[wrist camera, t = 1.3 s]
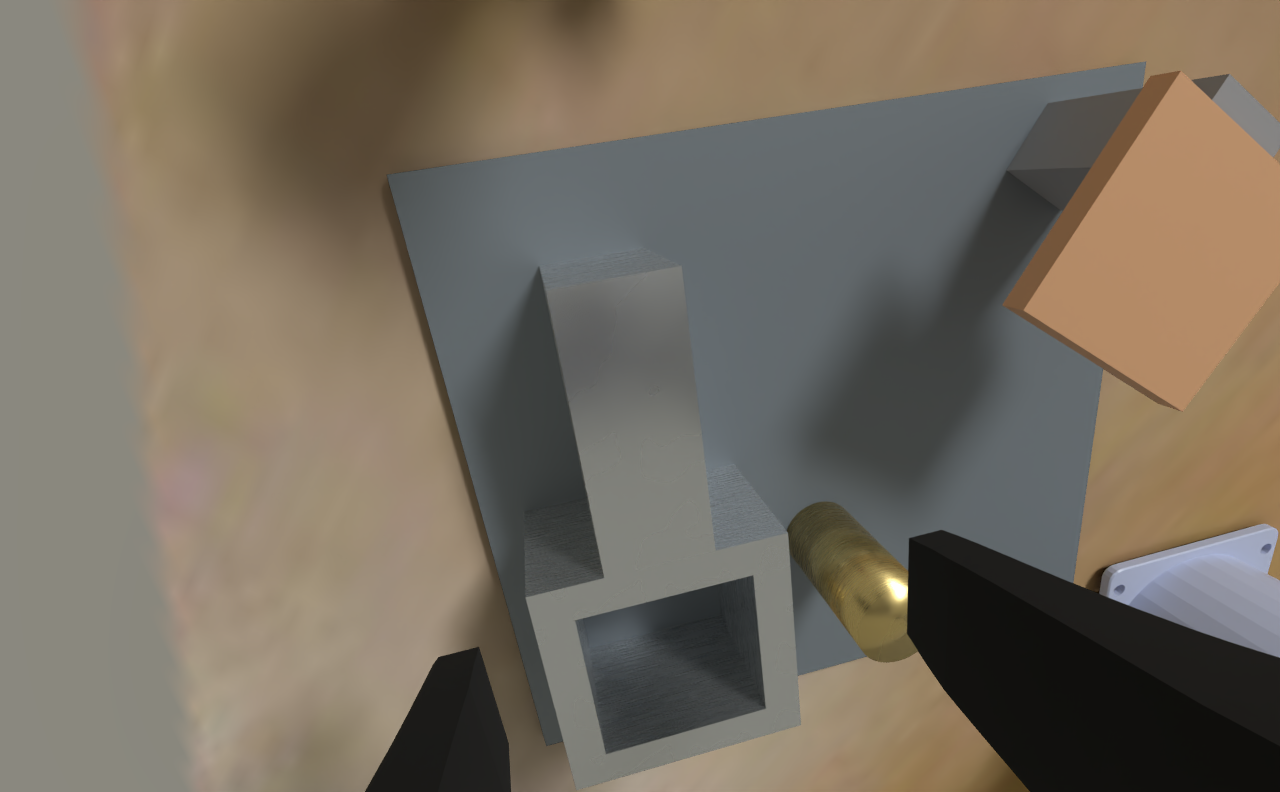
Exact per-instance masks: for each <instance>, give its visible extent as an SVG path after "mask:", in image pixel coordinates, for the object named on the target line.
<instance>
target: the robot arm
mask: <svg viewBox="0 0 1280 792" xmlns="http://www.w3.org/2000/svg"><path fill="white" fill-rule="evenodd" d="M1277 538H1278V531H1277V529H1276V528H1274V527H1271V526H1269V525H1267V524H1260V525H1256V526H1253V527H1249V528H1245V529H1242V530H1238V531H1234V532H1231V533H1227V534H1223V535H1220V536H1216V537H1212V538H1209V539H1205V540H1201V541H1198V542H1194V543H1191V544H1187V545H1183V546H1180V547H1176V548H1172V549H1169V550H1165V551H1161V552H1158V553H1154V554H1150V555H1147V556H1143V557H1139V558H1136V559H1132V560H1128V561H1125V562H1121V563H1118V564H1114V565H1111V566H1109V567H1108V568H1107V569H1106V570H1105V571H1104V573H1103V575H1102V579H1101V586H1100V592H1099V594H1098V593H1096V592H1093V591H1091V590H1088V589H1086V588H1083V587H1081V586H1078V585H1076V584H1074V583H1071V582H1069V581H1066V580H1064V579H1061V578H1059V577H1057V576H1054V575H1052V574H1049V573H1047V572H1045V571H1042V570H1040V569H1038V568H1035V567H1033V566H1030V565H1028V564H1026V563H1023V562H1021V561H1019V560H1016V559H1014V558H1011V557H1009V556H1007V555H1004V554H1002V553H1000V552H997V551H995V550H992V549H990V548H988V547H985V546H983V545H980V544H978V543H975V542H973V541H970V540H968V539H965V538H963V537H960V536H958V535H955V534H952V533H949V532H947V531H944V530H939V531H935V532H931V533H927V534H923V535H919V536H915V537H911V538H909V556H908V604H907V635H908V636H909V638H910V639H911V641H912V642H913V644H914V645H915V647H916V649H917V650H918V652H919V653H920V655H921V656H922V658H923V659H924V661H925V663H926V664H927V666H928V667H929V668H930V670H931V671H932V673H933V674H934V676H935V677H936V679H937V680H938V682H939V683H940V684H941V686H942V687H943V689H944V690H945V691H946V693H947V694H948V695H949V696H950V697H951V699H952V700H953V701H954V702H955V704H956V705H957V706H958V707H959V708H960V710H961V711H962V712H963V713H964V714H965V716H966V717H967V718H968V719H969V720H970V721H971V723H972V724H973V725H974V726H975V727H976V729H977V730H978V731H979V732H980V733H981V735H982V736H983V737H984V738H985V739H986V740H987V742H988V743H989V744H990V745H991V746H992V747H993V749H994V750H995V751H996V752H997V753H998V755H999V756H1000V757H1001V758H1002V759H1003V760H1004V762H1005V763H1006V764H1007V765H1008V766H1009V767H1010V769H1011V770H1012V771H1013V772H1014V773H1015V774H1016V776H1017V777H1018V778H1019V779H1020V780H1021V781H1022V783H1023V784H1024V785H1025V786H1026V787H1027V788H1028V790H1029V791H1030V792H1280V580H1278V579H1276V578H1274V577H1272V576H1270V575H1268V574H1267V573H1268V570H1269V566H1270V563H1271V559H1272V556H1273V552H1274V549H1275V545H1276V541H1277ZM365 792H511V782H510V761H509V743H508V740H507V737H506V733H505V730H504V727H503V724H502V721H501V717H500V714H499V711H498V708H497V704H496V701H495V698H494V695H493V691H492V688H491V685H490V682H489V678H488V675H487V672H486V669H485V665H484V662H483V659H482V656H481V652H480V649H479V647H477V648H473V649H469V650H465V651H461V652H457V653H453V654H449V655H445V656H441V657H438V659H437V660H436V661H435V663H434V664H433V666H432V668H431V670H430V672H429V674H428V676H427V678H426V680H425V682H424V684H423V686H422V688H421V689H420V691H419V693H418V695H417V697H416V699H415V701H414V703H413V705H412V707H411V709H410V711H409V713H408V715H407V717H406V718H405V720H404V722H403V724H402V726H401V728H400V730H399V732H398V733H397V735H396V737H395V739H394V741H393V743H392V745H391V746H390V748H389V750H388V752H387V754H386V755H385V757H384V759H383V761H382V762H381V764H380V766H379V768H378V770H377V771H376V773H375V775H374V777H373V778H372V780H371V782H370V784H369V785H368V787H367V789H366V791H365Z"/></svg>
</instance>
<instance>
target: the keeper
mask: <svg viewBox="0 0 1280 792" xmlns="http://www.w3.org/2000/svg"><path fill="white" fill-rule="evenodd" d="M1279 148H1280V123H1279V122H1278V121H1277V120H1276V119H1275V118H1274V117H1273V116H1272V115H1271V114H1270V113H1269V112H1268V111H1267V110H1266V109H1265V108H1264V107H1263V106H1262V105H1261V104H1260V103H1259V102H1258V101H1257V100H1256V99H1255V98H1254V97H1253V96H1252V95H1251V94H1250V93H1249V92H1248V91H1247V90H1245V89H1244V88H1243V87H1242V86H1241V85H1240V84H1239V83H1238V82H1237V81H1236V80H1235V79H1234V78H1233V77H1232V76H1231V75H1230V74H1226V75H1220V76H1214V77H1208V78H1201V79H1195V80H1190V79H1189V78H1188V77H1187V76H1186V75H1185V74H1184V73H1183V72H1182V71H1177V72H1171V73H1166V74H1160V75H1154V76H1150V78H1149V79H1148V81H1147V82H1146V84H1145V85H1144V87H1143V88H1139V89H1133V90H1126V91H1120V92H1114V93H1108V94H1102V95H1095V96H1089V97H1083V98H1077V99H1070V100H1064V101H1058V102H1052V103H1048V104H1047V105H1046V107H1045V109H1044V110H1043V112H1042V113H1041V115H1040V117H1039V118H1038V120H1037V122H1036V123H1035V125H1034V126H1033V128H1032V130H1031V131H1030V133H1029V135H1028V136H1027V138H1026V139H1025V141H1024V143H1023V144H1022V146H1021V148H1020V149H1019V151H1018V152H1017V154H1016V156H1015V157H1014V159H1013V160H1012V162H1011V164H1010V165H1009V167H1008V169H1007V171H1008V172H1009V173H1011V174H1012V175H1013V176H1015V177H1016V178H1017V179H1019V180H1020V181H1021V182H1023V183H1024V184H1026V185H1027V186H1028V187H1030V188H1031V189H1032V190H1034V191H1035V192H1036V193H1038V194H1039V195H1040V196H1042V197H1043V198H1045V199H1046V200H1047V201H1049V202H1050V203H1051V204H1053V205H1054V206H1055V207H1057V208H1058V209H1059V210H1063V212H1062V213H1061V215H1060V217H1059V218H1058V220H1057V221H1056V223H1055V224H1054V226H1053V227H1052V229H1051V230H1050V232H1049V234H1048V235H1047V237H1046V238H1045V240H1044V241H1043V243H1042V244H1041V246H1040V247H1039V249H1038V251H1037V252H1036V254H1035V255H1034V257H1033V258H1032V260H1031V261H1030V263H1029V264H1028V266H1027V267H1026V269H1025V271H1024V272H1023V274H1022V275H1021V277H1020V278H1019V280H1018V281H1017V283H1016V284H1015V286H1014V288H1013V289H1012V291H1011V292H1010V294H1009V295H1008V297H1007V298H1006V300H1005V301H1004V303H1003V306H1004V307H1006V308H1007V309H1009V310H1011V311H1012V312H1014V313H1015V314H1017V315H1018V316H1020V317H1022V318H1023V319H1025V320H1026V321H1028V322H1030V323H1031V324H1033V325H1034V326H1036V327H1038V328H1039V329H1041V330H1042V331H1044V332H1045V333H1047V334H1049V335H1050V336H1052V337H1053V338H1055V339H1057V340H1058V341H1060V342H1061V343H1063V344H1065V345H1066V346H1068V347H1069V348H1071V349H1072V350H1074V351H1076V352H1077V353H1079V354H1080V355H1082V356H1084V357H1085V358H1087V359H1088V360H1090V361H1091V362H1093V363H1095V364H1096V365H1098V366H1099V367H1101V368H1103V369H1104V370H1106V371H1107V372H1109V373H1111V374H1112V375H1114V376H1115V377H1117V378H1118V379H1120V380H1122V381H1123V382H1125V383H1126V384H1128V385H1130V386H1131V387H1133V388H1134V389H1136V390H1138V391H1139V392H1141V393H1142V394H1144V395H1145V396H1147V397H1149V398H1150V399H1152V400H1153V401H1155V402H1157V403H1158V404H1161V405H1164V406H1167V407H1170V408H1173V409H1176V410H1179V411H1182V412H1183V411H1184V409H1185V408H1186V407H1187V405H1188V404H1189V403H1190V401H1191V400H1192V399H1193V397H1194V396H1195V395H1196V393H1197V392H1198V391H1199V389H1200V388H1201V387H1202V385H1203V384H1204V383H1205V381H1206V380H1207V379H1208V377H1209V376H1210V375H1211V373H1212V372H1213V371H1214V369H1215V368H1216V367H1217V365H1218V364H1219V363H1220V361H1221V360H1222V359H1223V357H1224V356H1225V355H1226V353H1227V352H1228V351H1229V349H1230V348H1231V347H1232V345H1233V344H1234V343H1235V341H1236V340H1237V339H1238V337H1239V336H1240V335H1241V333H1242V332H1243V331H1244V329H1245V328H1246V327H1247V325H1248V324H1249V323H1250V321H1251V320H1252V319H1253V317H1254V316H1255V315H1256V313H1257V312H1258V311H1259V309H1260V308H1261V307H1262V305H1263V304H1264V303H1265V301H1266V300H1267V299H1268V297H1269V296H1270V295H1271V293H1272V292H1273V291H1274V289H1275V288H1276V287H1277V285H1278V284H1279V283H1280V164H1279V163H1278V162H1277V161H1276V160H1275V159H1274V158H1273V157H1274V156H1275V154H1276V153H1277V151H1278V150H1279Z"/></svg>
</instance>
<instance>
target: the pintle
mask: <svg viewBox="0 0 1280 792" xmlns="http://www.w3.org/2000/svg"><path fill="white" fill-rule="evenodd" d="M787 532H788V539H789V553H790V555H791V556H792V557H793V559H794V560H795V561H796V563H797V564H798V565H799V567H800V568H801V569H802V571H803V572H804V574H805V575H806V576H807V578H808V579H809V580H810V582H811V583H812V584H813V586H814V587H815V588H816V590H817V591H818V592H819V594H820V595H821V596H822V598H823V599H824V600H825V602H826V603H827V604H828V606H829V607H830V608H831V610H832V611H833V613H834V614H835V615H836V617H837V618H838V619H839V621H840V622H841V623H842V625H843V626H844V627H845V629H846V630H847V631H848V633H849V634H850V635H851V637H852V638H853V639H854V641H855V642H856V643H857V645H858V646H859V647H860V649H861V650H862V652H863V653H864V654H865V655H866V656H867V657H869V658H870V659H872V660H875V661H878V662H895V661H899V660H902V659H905V658H907V657H909V656H911V655H913V654H915V653H916V652H918V650H917V649H916V647H915V645H914V644H913V642H912V641H911V639H910V638H909V636H908V635H907V604H908V570H907V569H906V568H905V567H904V566H903V565H902V564H901V563H899V562H898V561H897V560H896V559H895V558H894V557H893V556H892V555H891V554H890V553H889V552H888V551H887V550H886V549H885V548H884V547H883V546H882V545H881V544H880V543H879V542H878V541H877V540H876V539H875V538H874V537H873V536H872V535H871V534H870V533H869V532H868V531H867V530H866V529H865V528H864V527H863V526H862V525H861V524H860V523H859V522H858V521H857V520H856V519H855V518H854V517H853V516H852V515H851V514H850V513H849V512H848V511H847V510H845V509H844V508H843V507H842V506H841V505H839V504H836V503H833V502H817V503H814V504H811V505H809V506H807V507H805V508H804V509H802V510H801V511H800V512H799V513H797V514H796V516H795V517H794V518H793V519H792V521H791V522H790V524H789V526H788V528H787Z"/></svg>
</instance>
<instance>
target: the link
mask: <svg viewBox="0 0 1280 792" xmlns="http://www.w3.org/2000/svg"><path fill="white" fill-rule="evenodd" d="M539 267H540V272H541V277H542V282H543V287H544V292H545V297H546V302H547V307H548V311H549V316H550V321H551V326H552V331H553V336H554V341H555V346H556V351H557V356H558V360H559V365H560V370H561V375H562V380H563V385H564V390H565V395H566V400H567V405H568V409H569V414H570V419H571V424H572V429H573V434H574V439H575V444H576V449H577V454H578V458H579V463H580V468H581V473H582V478H583V483H584V488H585V493H586V498H583V499H578V500H574V501H570V502H565V503H561V504H556V505H552V506H548V507H543V508H539V509H534V510H530V511H526V512H524V543H525V596H526V601H527V605H528V609H529V613H530V616H531V620H532V624H533V628H534V632H535V635H536V639H537V643H538V647H539V650H540V654H541V658H542V662H543V666H544V669H545V673H546V677H547V681H548V685H549V688H550V692H551V696H552V700H553V703H554V707H555V711H556V715H557V719H558V722H559V726H560V730H561V734H562V737H563V741H564V745H565V749H566V753H567V756H568V760H569V764H570V768H571V772H572V775H573V779H574V783H575V787H576V790H579V789H583V788H586V787H590V786H593V785H596V784H600V783H603V782H607V781H610V780H614V779H617V778H621V777H624V776H627V775H631V774H634V773H638V772H641V771H645V770H648V769H651V768H655V767H658V766H662V765H665V764H669V763H672V762H675V761H679V760H682V759H686V758H689V757H693V756H696V755H699V754H703V753H706V752H710V751H713V750H717V749H720V748H723V747H727V746H730V745H734V744H737V743H741V742H744V741H747V740H751V739H754V738H758V737H761V736H765V735H768V734H772V733H775V732H778V731H782V730H785V729H789V728H792V727H796V726H799V725H801V720H800V705H799V690H798V675H797V660H796V645H795V630H794V615H793V599H792V584H791V569H790V554H789V539H788V532H787V531H786V530H785V528H784V527H783V526H782V525H781V523H780V522H779V521H778V519H777V518H776V517H775V516H774V514H773V513H772V512H771V511H770V509H769V508H768V507H767V505H766V504H765V503H764V502H763V500H762V499H761V498H760V496H759V495H758V494H757V493H756V491H755V490H754V489H753V488H752V486H751V485H750V484H749V482H748V481H747V480H746V479H745V477H744V476H743V475H742V474H741V472H740V471H739V470H738V468H737V467H736V466H735V465H734V464H732V465H728V466H724V467H719V468H715V469H710V470H706V466H705V457H704V449H703V441H702V432H701V424H700V416H699V407H698V399H697V390H696V382H695V374H694V365H693V357H692V348H691V340H690V332H689V323H688V315H687V307H686V298H685V290H684V281H683V273H682V266H681V265H678V264H676V263H674V262H672V261H670V260H668V259H666V258H664V257H662V256H660V255H657V254H655V253H653V252H651V251H649V250H647V249H645V248H639V249H633V250H628V251H622V252H616V253H610V254H605V255H599V256H593V257H587V258H582V259H576V260H570V261H564V262H559V263H553V264H547V265H541V266H539ZM713 585H717V586H718V595H719V603H720V611H721V614H720V615H716V616H712V617H708V618H705V619H701V620H697V621H693V622H689V623H685V624H682V625H678V626H674V627H670V628H666V629H662V630H659V631H655V632H651V633H647V634H643V635H639V636H636V637H632V638H628V639H624V640H620V641H616V642H613V643H609V644H605V645H601V646H597V647H593V648H589V644H588V639H587V635H586V631H585V626H584V622H583V618H587V617H591V616H595V615H598V614H602V613H606V612H610V611H614V610H618V609H622V608H626V607H630V606H634V605H638V604H642V603H646V602H650V601H654V600H658V599H662V598H665V597H669V596H673V595H677V594H681V593H685V592H689V591H693V590H697V589H701V588H705V587H709V586H713Z"/></svg>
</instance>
